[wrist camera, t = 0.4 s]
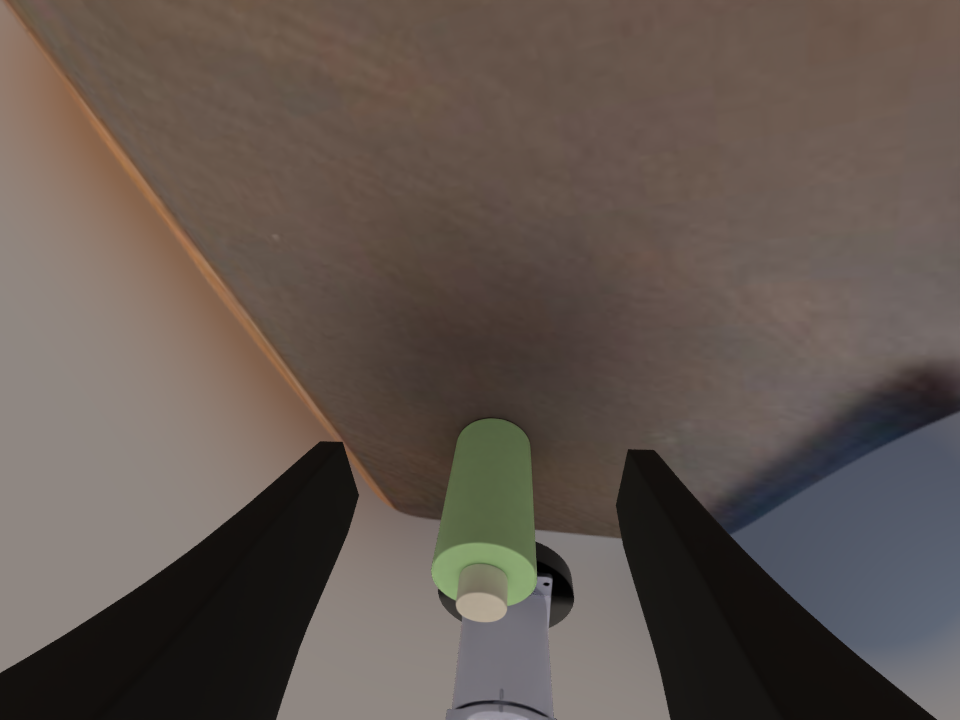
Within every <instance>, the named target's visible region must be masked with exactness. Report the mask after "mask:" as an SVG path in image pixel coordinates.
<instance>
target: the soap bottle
mask: <svg viewBox="0 0 960 720" xmlns="http://www.w3.org/2000/svg"><path fill="white" fill-rule="evenodd" d="M431 573H432V578H433V580H434V582H435V584H436V586H437V587H438V588H439V589H440V590H441V591H442V592H443V593H444V594H445V595H447V596H448V597H450V598H452V599H454V600H456V608H457V610H458V612H459V613H460V614H461V615H462V616H464V617H465V618H467V619H470V620H473V621H477V622H493V621H497V620H499V619H501V618H502V617H504V616H505V614H506V612H507V606H511V605H514V604H516V603H519V602H521V601H523V600H524V599H526V598H527V597H528V596H529V595H530V594H531V593H532V592H533V590H534V589H535V586H536V583H537V567H536V547H535V528H534V508H533V488H532V468H531V448H530V442H529V439H528V437H527V436H526V434H525V433H524V432H523V431H522V430H521V429H520V428H519V427H518V426H516V425H515V424H513V423H511V422H508V421H505V420H502V419H494V418H489V419H482V420H478V421H475V422H473V423H471V424H469V425H468V426H467V427H466V428H464V429H463V431H462V432H461V433H460V435H459V437H458V440H457V444H456V449H455V454H454V459H453V464H452V469H451V474H450V479H449V484H448V489H447V493H446V498H445V503H444V508H443V513H442V518H441V523H440V528H439V533H438V538H437V543H436V548H435V552H434V557H433V562H432V568H431Z"/></svg>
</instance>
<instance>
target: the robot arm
mask: <svg viewBox="0 0 960 720" xmlns="http://www.w3.org/2000/svg"><path fill="white" fill-rule="evenodd" d="M358 497H359V494H358V491H357V487H356V484H355V481H354V478H353V474H352V471H351V468H350V465H349V461H348V458H347V455H346V451H345V448H344V445H343V442H324V441H323V442H319V443H318V444H317V445H315V446H314V447H313V448H312V449H311V450H309V451H308V452H307V453H306V454H305V455H304V456H303V457H301V458H300V459H299V460H298V461H297V462H296V463H295V464H293V465H292V466H291V467H290V468H289V469H288V470H287V471H286V472H284V473H283V474H282V475H281V476H280V477H279V478H278V479H276V480H275V481H274V482H273V483H272V484H271V485H270V486H268V487H267V488H266V489H265V490H264V491H263V492H261V493H260V494H259V495H258V496H257V497H256V498H254V500H252V501H251V502H250V503H249V504H247V505H246V506H245V507H244V508H243V509H241V510H240V511H239V512H238V513H236V514H235V515H234V516H233V517H232V518H230V519H229V520H228V521H226V522H225V523H224V524H223V525H221V526H220V527H219V528H218V529H217V530H215V531H214V532H213V533H212V534H210V535H209V536H208V537H206V538H205V539H204V540H203V541H201V542H200V543H199V544H198V545H196V546H195V547H194V548H192V549H191V550H190V551H188V552H187V553H186V554H184V555H183V556H182V557H180V558H179V559H177V560H176V561H175V562H173V563H172V564H171V565H169V566H168V567H166V568H165V569H164V570H162V571H161V572H159V573H158V574H156V575H155V576H154V577H152V578H151V579H149V580H148V581H147V582H145V583H144V584H142V585H141V586H139V587H138V588H136V589H135V590H134V591H132V592H130V593H129V594H127V595H126V596H125V597H123V598H121V599H120V600H118V601H117V602H115V603H114V604H112V605H110V606H109V607H107V608H106V609H104V610H103V611H101V612H100V613H98V614H97V615H95V616H93V617H92V618H90V619H89V620H87V621H86V622H84V623H82V624H81V625H79V626H78V627H76V628H75V629H73V630H72V631H70V632H68V633H67V634H65V635H64V636H62V637H60V638H59V639H57V640H55V641H54V642H52V643H50V644H49V645H47V646H45V647H44V648H42V649H41V650H39V651H37V652H35V653H34V654H32V655H30V656H29V657H27V658H25V659H24V660H22V661H20V662H19V663H17V664H15V665H13V666H12V667H10V668H8V669H6V670H5V671H3V672H1V673H0V720H276V718H277V715H278V711H279V708H280V705H281V702H282V698H283V696H284V692H285V690H286V686H287V684H288V680H289V678H290V674H291V671H292V669H293V666H294V663H295V660H296V657H297V654H298V651H299V648H300V645H301V643H302V640H303V638H304V635H305V632H306V630H307V627H308V625H309V623H310V620H311V618H312V616H313V613H314V611H315V609H316V606H317V604H318V602H319V599H320V597H321V595H322V592H323V590H324V588H325V586H326V583H327V581H328V579H329V576H330V574H331V572H332V569H333V567H334V565H335V562H336V560H337V558H338V555H339V553H340V550H341V548H342V546H343V543H344V541H345V538H346V536H347V534H348V531H349V528H350V524H351V521H352V518H353V514H354V510H355V507H356V504H357V500H358ZM616 508H617V514H618V520H619V526H620V531H621V536H622V541H623V546H624V550H625V554H626V557H627V561H628V564H629V567H630V571H631V574H632V577H633V580H634V584H635V587H636V591H637V594H638V597H639V601H640V604H641V607H642V611H643V614H644V617H645V620H646V624H647V627H648V630H649V634H650V637H651V640H652V644H653V647H654V650H655V654H656V658H657V662H658V665H659V669H660V673H661V677H662V682H663V686H664V691H665V695H666V700H667V705H668V710H669V714H670V719H671V720H937V719H936V718H934V717H933V716H932V715H930V714H929V713H928V712H927V711H925V710H924V709H923V708H921V706H919V705H918V704H917V703H915V702H914V701H913V700H912V699H911V698H909V697H908V696H907V695H906V694H905V693H903V692H902V691H901V690H899V689H898V688H897V687H896V686H895V685H893V684H892V683H891V682H890V681H888V680H887V679H886V678H885V677H883V676H882V675H881V674H880V673H879V672H877V671H876V670H875V669H874V668H872V667H871V666H870V665H869V664H868V663H866V662H865V661H864V660H863V659H861V658H860V657H859V656H858V655H857V654H856V653H854V652H853V651H852V650H851V649H850V648H848V647H847V646H846V645H845V644H844V643H843V642H841V641H840V640H839V639H838V638H837V637H836V636H834V635H833V634H832V633H831V632H830V631H829V630H828V629H827V628H825V627H824V626H823V625H822V624H821V623H820V622H819V621H818V620H817V619H815V618H814V617H813V616H812V615H811V614H810V613H809V612H808V611H807V610H805V609H804V608H803V607H802V606H801V605H800V604H799V603H797V601H795V600H794V599H793V598H792V597H791V596H790V595H789V594H788V593H787V592H786V591H785V590H784V589H783V588H782V587H781V586H780V585H779V584H778V583H776V582H775V581H774V580H773V579H772V578H771V577H770V576H769V575H768V574H767V573H766V572H765V571H764V570H763V569H762V568H761V567H760V566H759V565H758V564H757V563H756V562H755V561H754V560H753V559H752V558H751V557H750V556H749V555H748V554H747V553H746V552H745V551H744V550H743V549H742V548H741V547H740V546H739V545H738V544H737V542H736V541H735V540H734V539H733V538H732V537H731V536H730V535H729V534H728V533H727V532H726V531H725V530H724V529H723V527H722V526H721V525H720V524H719V523H718V522H717V521H716V520H715V519H714V518H713V517H712V516H711V515H710V513H709V512H708V511H707V510H706V509H705V508H704V507H703V506H702V505H701V503H700V502H699V501H698V500H697V499H696V498H695V497H694V496H693V494H692V493H691V492H690V491H689V490H688V489H687V487H686V486H685V485H684V484H683V483H682V482H681V481H680V479H679V478H678V477H677V476H676V475H675V474H674V472H673V471H672V470H671V469H670V468H669V466H668V465H667V464H666V463H665V462H664V461H663V459H662V458H661V457H660V456H659V455H658V454H657V453H656V452H655V451H654V450H631V449H628V452H627V457H626V461H625V466H624V470H623V475H622V480H621V484H620V489H619V494H618V498H617V503H616ZM552 583H553V578H552V575H551V574H550V573H543V572H537V583H536V586H535V589H534V590H533V592H532V593H531V594H530V595H529V596H528V597H527V598H526V599H524V600H523V601H521V602H519V603H516V604H514V605H511V606H507V612H506V614H505V616H504V617H502V618H501V619H499V620H497V621H493V622H477V621H473V620H470V619H467V618H465V617H464V616H462V625H461V634H460V642H459V651H458V660H457V668H456V677H455V686H454V694H453V703H452V709H448V710H447V713H446V720H557V719H556V718H554V714H553V700H552V685H551V670H550V656H549V640H548V629H549V618H550V606H551V595H552Z"/></svg>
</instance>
